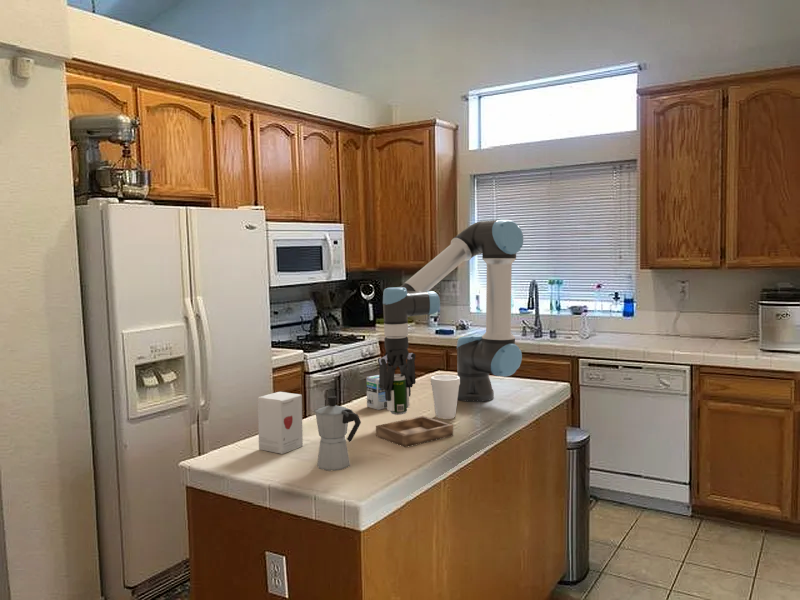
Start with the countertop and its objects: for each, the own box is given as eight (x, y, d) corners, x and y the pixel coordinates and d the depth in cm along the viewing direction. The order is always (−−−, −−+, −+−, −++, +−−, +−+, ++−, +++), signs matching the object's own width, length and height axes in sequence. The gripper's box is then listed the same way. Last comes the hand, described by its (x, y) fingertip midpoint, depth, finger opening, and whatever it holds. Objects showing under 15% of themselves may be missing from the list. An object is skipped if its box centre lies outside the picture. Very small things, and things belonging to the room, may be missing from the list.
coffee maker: (303, 466, 169) (301, 397, 168) (324, 456, 177) (323, 390, 175) (350, 476, 162) (349, 403, 160) (370, 465, 169) (369, 396, 168)
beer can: (409, 413, 209) (408, 376, 208) (394, 415, 206) (393, 378, 205) (402, 409, 214) (401, 373, 212) (387, 412, 211) (386, 375, 210)
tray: (422, 425, 206) (422, 415, 206) (453, 435, 195) (452, 425, 195) (376, 436, 195) (375, 425, 195) (405, 447, 184) (405, 436, 184)
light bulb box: (378, 410, 226) (377, 379, 226) (366, 407, 231) (365, 376, 231) (401, 405, 234) (400, 375, 233) (388, 401, 239) (388, 372, 238)
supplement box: (282, 454, 179) (280, 400, 178) (258, 449, 184) (256, 397, 182) (304, 446, 186) (302, 394, 185) (280, 441, 191) (278, 390, 190)
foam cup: (457, 420, 211) (457, 380, 210) (429, 419, 213) (429, 380, 212) (461, 413, 221) (461, 375, 220) (433, 412, 223) (433, 374, 222)
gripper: (411, 332, 216) (413, 401, 218) (365, 338, 205) (368, 411, 207) (426, 334, 210) (428, 405, 212) (379, 341, 199) (382, 416, 201)
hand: (398, 408), depth 210 cm, fingers closed on beer can, 5 cm apart
